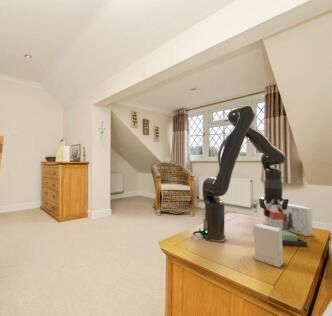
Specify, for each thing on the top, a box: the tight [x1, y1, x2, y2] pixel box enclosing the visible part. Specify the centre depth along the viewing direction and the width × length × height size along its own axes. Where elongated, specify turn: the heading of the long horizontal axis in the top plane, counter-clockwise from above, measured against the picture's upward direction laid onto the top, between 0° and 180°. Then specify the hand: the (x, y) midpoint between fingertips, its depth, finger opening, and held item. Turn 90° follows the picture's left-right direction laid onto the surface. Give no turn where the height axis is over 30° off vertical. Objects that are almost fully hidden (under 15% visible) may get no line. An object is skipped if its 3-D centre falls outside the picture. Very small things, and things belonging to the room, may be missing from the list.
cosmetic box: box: [253, 223, 284, 268], centre depth 82 cm, size 8×6×15 cm
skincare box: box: [264, 200, 313, 237], centre depth 119 cm, size 21×5×16 cm, turn 17°
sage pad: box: [281, 229, 298, 241], centre depth 102 cm, size 6×8×4 cm
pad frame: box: [282, 237, 308, 248], centre depth 106 cm, size 12×19×2 cm, turn 170°
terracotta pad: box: [262, 208, 284, 220], centre depth 110 cm, size 6×8×4 cm
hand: (273, 216), depth 110 cm, fingers closed on terracotta pad, 5 cm apart
